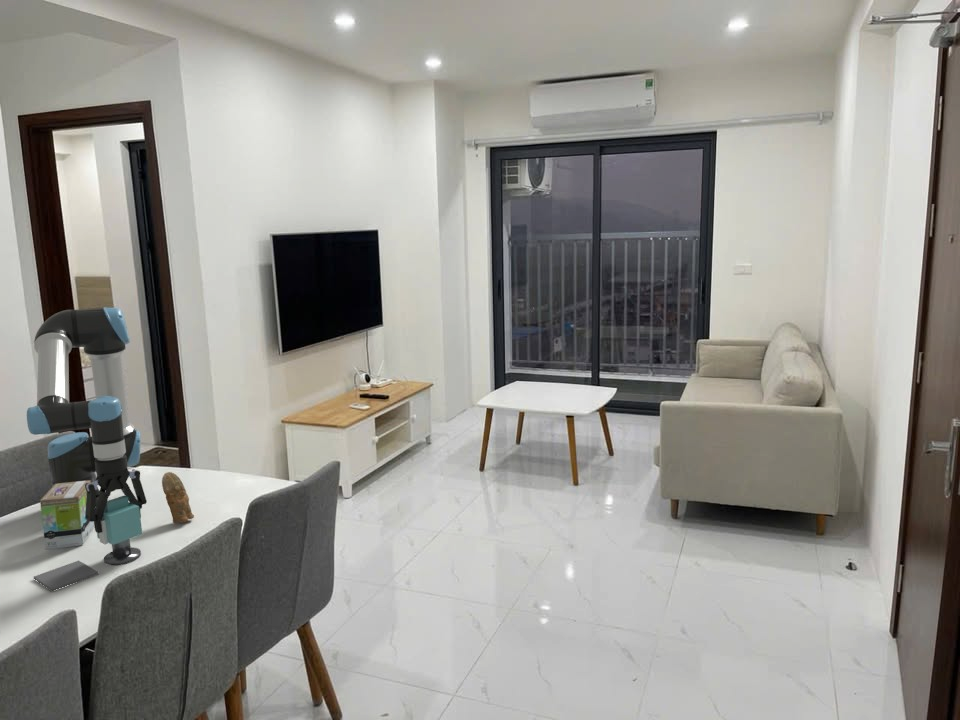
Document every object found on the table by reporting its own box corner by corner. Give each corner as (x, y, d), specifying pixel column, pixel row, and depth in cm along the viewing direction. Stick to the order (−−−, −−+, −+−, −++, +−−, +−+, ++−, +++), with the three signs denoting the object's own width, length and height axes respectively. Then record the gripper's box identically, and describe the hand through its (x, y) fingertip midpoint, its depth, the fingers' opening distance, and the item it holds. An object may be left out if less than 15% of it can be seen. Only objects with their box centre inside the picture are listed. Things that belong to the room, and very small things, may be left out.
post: (97, 559, 191) (93, 528, 189) (130, 547, 198) (127, 517, 196) (114, 568, 185) (110, 536, 184) (147, 555, 192) (143, 524, 191)
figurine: (185, 526, 211) (180, 478, 208) (161, 525, 213) (156, 477, 210) (201, 515, 219) (197, 469, 217) (178, 514, 221) (173, 468, 218)
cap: (126, 527, 196) (122, 491, 194) (142, 534, 191) (138, 497, 190) (97, 537, 190) (92, 501, 188) (113, 544, 185) (108, 507, 183)
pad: (33, 579, 180) (33, 576, 180) (78, 563, 189) (78, 560, 189) (52, 591, 174) (52, 588, 173) (98, 574, 182) (98, 571, 182)
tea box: (84, 545, 200) (78, 496, 197) (44, 550, 197) (37, 500, 194) (96, 525, 214) (90, 478, 211) (59, 529, 211) (53, 482, 209)
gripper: (140, 443, 197) (149, 520, 201) (62, 464, 180) (73, 547, 184) (155, 448, 193) (164, 526, 197) (76, 470, 176) (87, 555, 180)
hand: (120, 536), depth 191 cm, fingers closed on cap, 8 cm apart
